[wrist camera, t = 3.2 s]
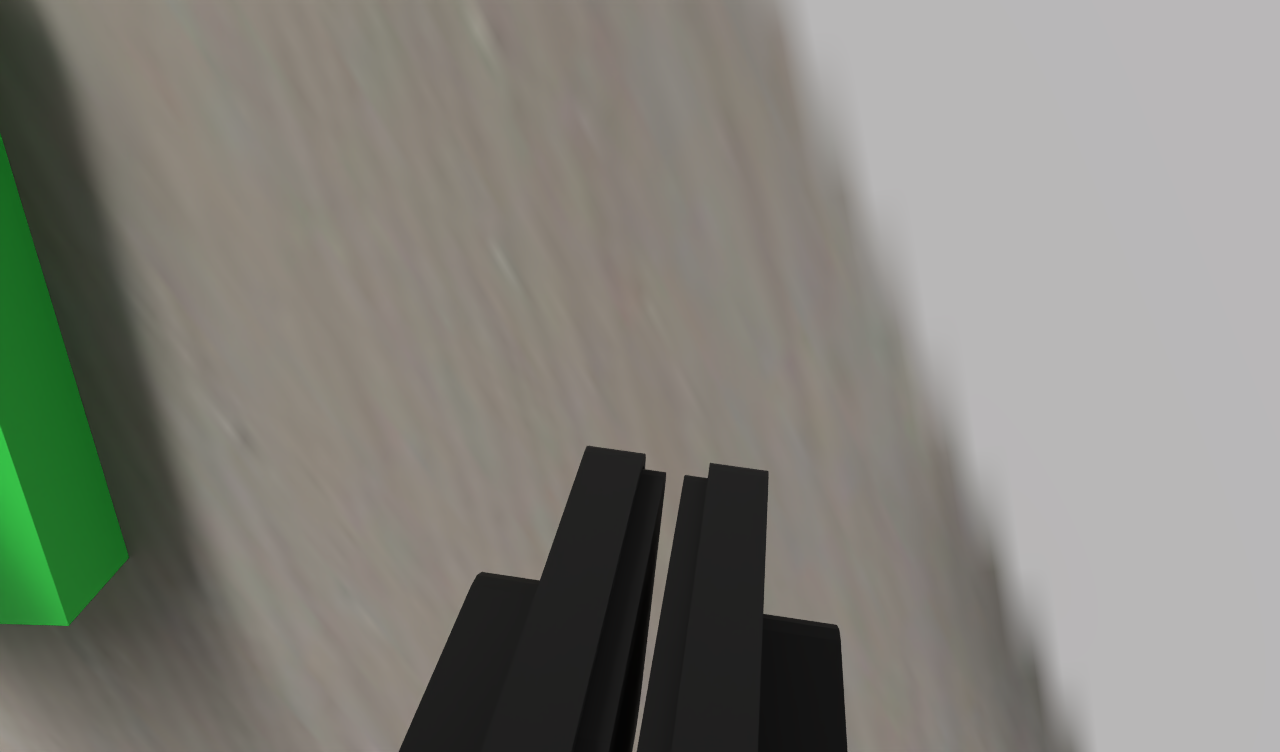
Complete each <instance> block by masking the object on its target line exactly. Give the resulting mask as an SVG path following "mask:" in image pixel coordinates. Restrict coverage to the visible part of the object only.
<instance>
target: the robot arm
mask: <svg viewBox="0 0 1280 752" xmlns="http://www.w3.org/2000/svg"><path fill="white" fill-rule="evenodd" d="M645 460H646V456H645V454H643V453H636V452H628V451H621V450H614V449H607V448H600V447H593V446H587V447H586V449H585V452H584V455H583V457H582V460H581V463H580V466H579V469H578V472H577V475H576V478H575V481H574V484H573V486H572V489H571V492H570V495H569V498H568V501H567V504H566V507H565V510H564V512H563V515H562V518H561V521H560V524H559V527H558V530H557V533H556V536H555V539H554V541H553V544H552V547H551V550H550V553H549V556H548V559H547V562H546V565H545V567H544V570H543V573H542V576H541V579H540V581H539V580H532V579H525V578H519V577H512V576H505V575H499V574H492V573H485V572H481V573H480V574H478V575H477V576H476V578H475V580H474V582H473V583H472V585H471V587H470V590H469V592H468V594H467V597H466V599H465V601H464V603H463V606H462V608H461V610H460V613H459V615H458V617H457V619H456V622H455V624H454V626H453V629H452V631H451V633H450V636H449V638H448V640H447V642H446V645H445V647H444V649H443V652H442V654H441V656H440V658H439V661H438V663H437V665H436V668H435V670H434V672H433V674H432V677H431V679H430V681H429V684H428V686H427V688H426V691H425V693H424V695H423V697H422V700H421V702H420V704H419V707H418V709H417V711H416V713H415V716H414V718H413V720H412V723H411V725H410V727H409V729H408V732H407V734H406V736H405V739H404V741H403V743H402V746H401V748H400V750H399V752H632V750H633V744H634V738H635V732H636V726H637V719H638V712H639V705H640V697H641V688H642V680H643V671H644V663H645V654H646V645H647V637H648V628H649V620H650V611H651V602H652V594H653V585H654V577H655V568H656V559H657V551H658V542H659V534H660V525H661V517H662V508H663V499H664V491H665V482H666V472H659V471H652V470H645ZM767 502H768V471H764V470H757V469H750V468H743V467H735V466H728V465H721V464H714V463H710V467H709V474H708V478H702V477H695V476H688V475H685V476H684V481H683V487H682V493H681V499H680V505H679V510H678V516H677V522H676V528H675V534H674V539H673V545H672V551H671V557H670V563H669V568H668V574H667V580H666V586H665V591H664V597H663V603H662V609H661V615H660V620H659V626H658V632H657V638H656V644H655V649H654V655H653V661H652V667H651V673H650V678H649V684H648V690H647V696H646V702H645V707H644V713H643V719H642V725H641V730H640V736H639V742H638V748H637V752H847V737H846V720H845V704H844V687H843V671H842V654H841V639H840V632H839V628H838V626H837V625H834V624H827V623H820V622H814V621H807V620H800V619H794V618H787V617H780V616H773V615H767V614H763V605H764V579H765V553H766V528H767Z"/></svg>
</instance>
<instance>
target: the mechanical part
mask: <svg viewBox="0 0 1280 752" xmlns="http://www.w3.org/2000/svg"><path fill="white" fill-rule="evenodd" d="M128 558H129V556H128V552H127V549H126V546H125V543H124V539H123V536H122V533H121V529H120V526H119V523H118V520H117V516H116V513H115V510H114V506H113V503H112V500H111V496H110V493H109V490H108V487H107V483H106V480H105V477H104V473H103V470H102V467H101V463H100V460H99V457H98V454H97V450H96V447H95V444H94V440H93V437H92V434H91V430H90V427H89V424H88V421H87V417H86V414H85V411H84V407H83V404H82V401H81V398H80V394H79V391H78V388H77V384H76V381H75V378H74V374H73V371H72V368H71V365H70V361H69V358H68V355H67V351H66V348H65V345H64V341H63V338H62V335H61V332H60V328H59V325H58V322H57V318H56V315H55V312H54V309H53V305H52V302H51V299H50V295H49V292H48V289H47V285H46V282H45V279H44V276H43V272H42V269H41V266H40V262H39V259H38V256H37V252H36V249H35V246H34V243H33V239H32V236H31V233H30V229H29V226H28V223H27V220H26V216H25V213H24V210H23V206H22V203H21V200H20V196H19V193H18V190H17V187H16V183H15V180H14V177H13V173H12V170H11V167H10V163H9V160H8V157H7V154H6V150H5V147H4V144H3V140H2V137H1V134H0V624H23V625H57V626H69V625H70V624H71V623H72V622H73V621H74V619H75V618H76V617H77V616H78V615H79V614H80V613H81V611H82V610H83V609H84V608H85V607H86V606H87V605H88V604H89V602H90V601H91V600H92V599H93V598H94V597H95V596H96V595H97V593H98V592H99V591H100V590H101V589H102V588H103V587H104V585H105V584H106V583H107V582H108V581H109V580H110V579H111V578H112V576H113V575H114V574H115V573H116V572H117V571H118V570H119V568H120V567H121V566H122V565H123V564H124V563H125V562H126V561H127V559H128Z"/></svg>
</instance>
